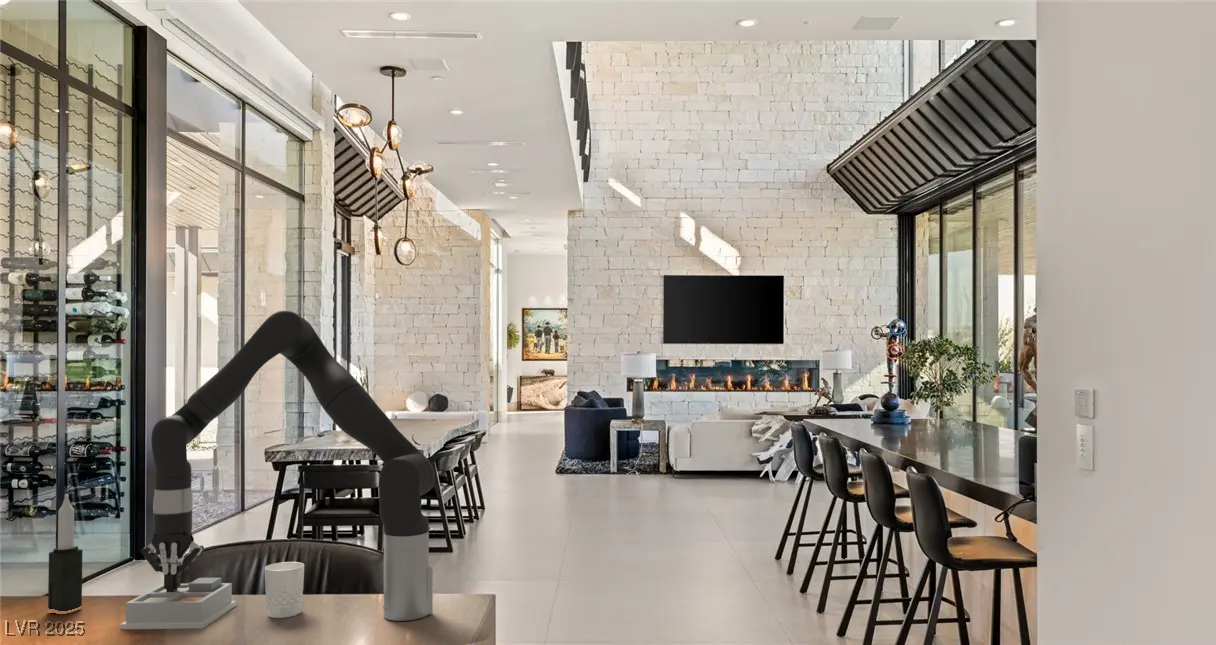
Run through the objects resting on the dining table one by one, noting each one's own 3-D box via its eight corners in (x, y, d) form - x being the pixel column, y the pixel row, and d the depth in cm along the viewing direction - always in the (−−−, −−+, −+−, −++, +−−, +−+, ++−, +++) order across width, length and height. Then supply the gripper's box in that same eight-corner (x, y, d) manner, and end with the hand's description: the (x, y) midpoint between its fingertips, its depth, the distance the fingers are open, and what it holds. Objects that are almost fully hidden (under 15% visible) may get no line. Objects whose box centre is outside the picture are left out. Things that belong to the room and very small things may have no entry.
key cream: (172, 613, 185) (173, 597, 185) (161, 620, 180) (161, 603, 181) (149, 613, 185) (150, 597, 185) (137, 620, 180) (138, 604, 181)
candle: (84, 608, 193) (85, 492, 194) (63, 615, 188) (64, 496, 189) (66, 606, 194) (68, 491, 195) (45, 613, 190) (47, 495, 190)
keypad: (236, 605, 195) (236, 582, 195) (202, 628, 178) (202, 603, 178) (160, 606, 194) (161, 583, 195) (120, 629, 178) (120, 604, 178)
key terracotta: (206, 613, 185) (207, 597, 185) (196, 619, 181) (196, 603, 181) (183, 613, 185) (183, 597, 185) (172, 620, 180) (172, 603, 181)
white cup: (310, 608, 192) (310, 561, 192) (293, 619, 184) (294, 570, 184) (275, 608, 192) (275, 561, 193) (257, 618, 185) (257, 570, 185)
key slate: (221, 593, 192) (221, 577, 193) (211, 599, 188) (211, 583, 188) (198, 593, 192) (199, 577, 192) (188, 599, 188) (188, 583, 188)
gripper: (211, 506, 194) (210, 586, 194) (150, 506, 194) (149, 586, 194) (196, 512, 187) (195, 595, 186) (132, 512, 187) (131, 596, 186)
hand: (171, 591), depth 190 cm, fingers closed
